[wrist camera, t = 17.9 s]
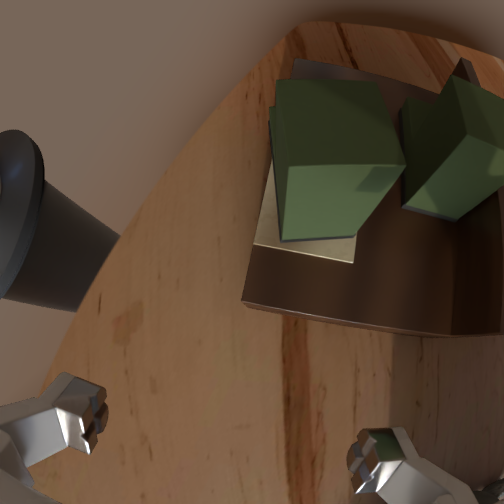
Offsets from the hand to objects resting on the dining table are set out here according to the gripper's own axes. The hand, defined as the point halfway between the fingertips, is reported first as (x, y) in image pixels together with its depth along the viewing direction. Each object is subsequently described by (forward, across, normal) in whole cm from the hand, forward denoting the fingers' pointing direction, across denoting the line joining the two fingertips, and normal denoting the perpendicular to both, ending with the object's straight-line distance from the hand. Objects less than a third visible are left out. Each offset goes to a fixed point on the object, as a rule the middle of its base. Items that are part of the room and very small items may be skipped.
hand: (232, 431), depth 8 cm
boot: (+16, -3, -8) cm, 18 cm away
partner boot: (+17, -13, -12) cm, 25 cm away
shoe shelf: (+21, -9, -8) cm, 24 cm away
